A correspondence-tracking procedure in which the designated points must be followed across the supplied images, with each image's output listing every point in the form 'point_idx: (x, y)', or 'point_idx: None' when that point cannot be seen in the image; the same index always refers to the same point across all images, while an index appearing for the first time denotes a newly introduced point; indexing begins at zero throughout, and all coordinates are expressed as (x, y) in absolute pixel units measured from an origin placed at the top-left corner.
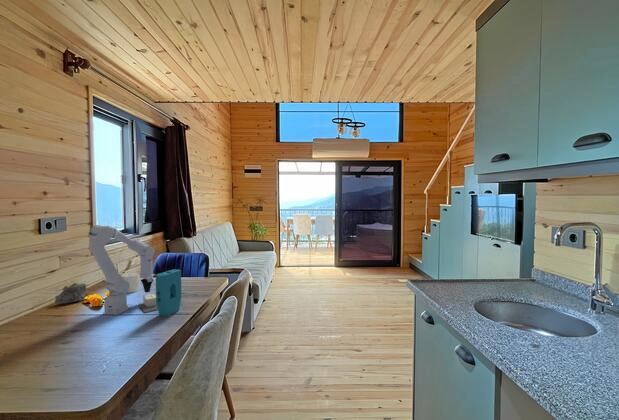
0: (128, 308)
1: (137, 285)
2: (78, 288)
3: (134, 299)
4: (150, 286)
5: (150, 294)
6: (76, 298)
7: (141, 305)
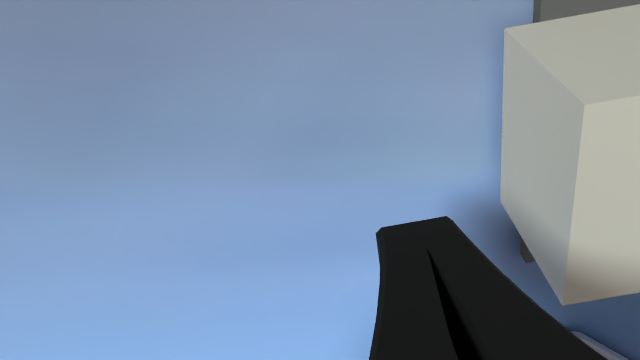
0: (615, 355)
1: None
2: None
3: (148, 313)
4: (553, 323)
5: (604, 177)
6: None
7: None
